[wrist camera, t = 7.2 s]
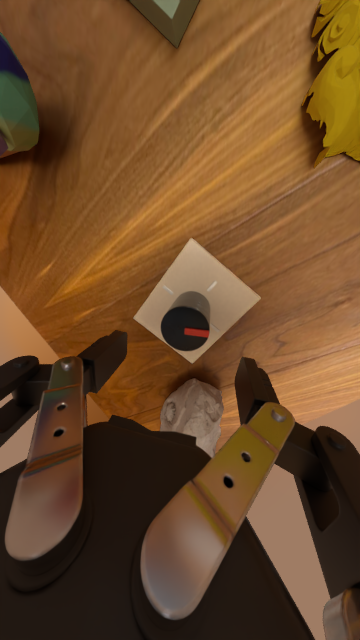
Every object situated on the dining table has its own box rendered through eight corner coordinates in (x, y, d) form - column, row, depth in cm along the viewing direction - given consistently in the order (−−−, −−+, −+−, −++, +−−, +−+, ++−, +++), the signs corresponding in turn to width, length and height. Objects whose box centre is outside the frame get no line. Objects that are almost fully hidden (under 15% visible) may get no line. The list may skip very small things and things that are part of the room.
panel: (193, 239, 21) (190, 237, 18) (255, 292, 22) (261, 298, 19) (141, 311, 26) (132, 318, 23) (194, 352, 27) (192, 364, 24)
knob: (172, 323, 22) (158, 349, 16) (174, 289, 21) (160, 304, 15) (207, 328, 22) (206, 356, 16) (212, 293, 20) (212, 310, 14)
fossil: (184, 355, 25) (132, 503, 14) (247, 382, 25) (246, 556, 13) (161, 400, 36) (122, 503, 24) (205, 419, 35) (185, 533, 24)
